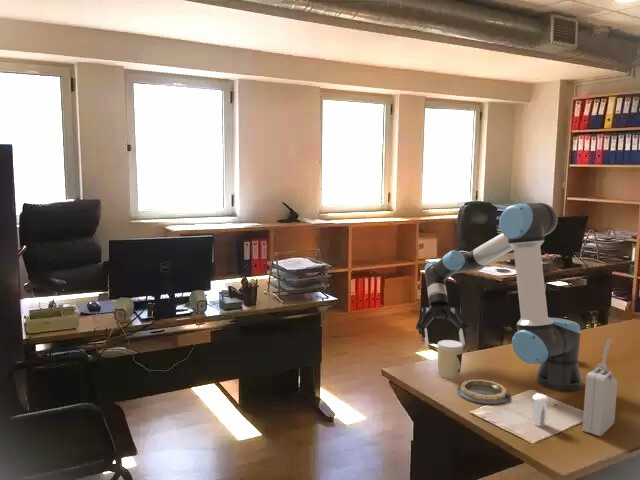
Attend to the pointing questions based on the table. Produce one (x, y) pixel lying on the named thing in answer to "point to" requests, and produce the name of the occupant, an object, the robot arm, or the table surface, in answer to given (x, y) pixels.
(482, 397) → the carrier plate
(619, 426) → the table surface
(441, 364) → the coffee cup
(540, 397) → the milkshake
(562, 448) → the table surface
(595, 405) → the fuel canister
